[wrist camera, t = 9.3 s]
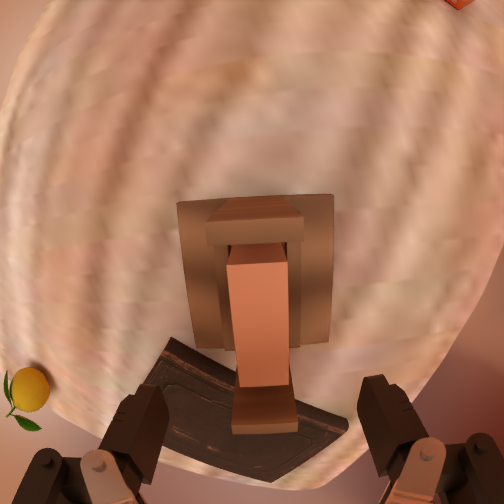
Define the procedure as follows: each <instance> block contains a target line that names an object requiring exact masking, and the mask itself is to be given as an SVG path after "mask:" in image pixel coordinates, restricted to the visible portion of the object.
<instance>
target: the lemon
mask: <svg viewBox="0 0 504 504" xmlns="http://www.w3.org/2000/svg"><path fill="white" fill-rule="evenodd" d="M4 392H5V395H6V397H7V399H8V401H9V402H10V404H11V400H12V402H13V405H14V408H13V409H12V410H11V412H10V413H9V414H8V415H7V416H6V417H8V416H9V415H12V414H11V413H12V412H13V411H14V409H15V408H17V409H20V410H22V411H24V412H34V411H37V410H39V409H40V408H42V407H43V406H44V404H45V403H46V401H47V400H48V398H49V393H50V391H49V385H48V383H47V380H46V379H45V375H44V373H43V372H39V371H38V370H36V369H34V368H31V367H26V368H23V369H21V370H19V371H18V372H17V373H16V374H15V375H14V377H13V379H12V381H11V384H10V390H8V374H7V371H6V374H5V379H4ZM9 393H10V395H9ZM10 398H11V399H10ZM11 407H12V404H11ZM12 416H14V417H15V418H16V420H17V422H18V423H19V425H20V426H21V427H22V428H24V429H25V430H28V431H38V430H40V429H42V428H40V427H39V426H38V425H37V424H36V423H34V422H33V421H31V420H29V419H27V418H25V417H23V416H20V415H12Z"/></svg>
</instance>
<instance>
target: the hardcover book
mask: <svg viewBox="0 0 504 504" xmlns="http://www.w3.org/2000/svg"><path fill="white" fill-rule="evenodd" d="M235 378H236V372H235V371H233V370H231V369H229V368H227V367H225V366H223V365H221V364H219V363H217V362H215V361H213V360H212V359H210V358H208V357H206V356H204V355H202V354H200V353H199V352H197V351H195V350H193V349H191V348H190V347H188V346H186V345H184V344H183V343H181V342H179V341H177V340H176V339H174V338H172V337H170V339H169V342H168V344H167V345H166V347H165V349H164V350H163V352H162V354H161V355H160V357H159V359H158V360H157V362H156V363H155V365H154V367H153V368H152V370H151V372H150V373H149V375H148V376H147V378H146V380H145V381H144V383H143V384H150V385H159V386H160V387H161V390H162V393H163V396H164V399H165V401H166V404H167V407H168V410H169V424H168V427H167V431H166V434H165V437H164V441H163V444H162V446H165V447H167V448H169V449H171V450H174V451H176V452H178V453H181V454H183V455H185V456H188V457H190V458H193V459H195V460H198V461H201V462H203V463H206V464H209V465H212V466H214V467H217V468H220V469H223V470H226V471H229V472H233V473H236V474H239V475H243V476H246V477H250V478H253V479H257V480H261V481H265V482H269V483H272V482H273V481H275V480H277V479H279V478H280V477H282V476H284V475H285V474H287V473H289V472H290V471H292V470H293V469H295V468H297V467H298V466H300V465H301V464H303V463H304V462H306V461H307V460H309V459H310V458H312V457H313V456H315V455H316V454H317V453H319V452H320V451H322V450H323V449H324V448H326V447H327V446H329V445H330V444H331V443H333V442H334V441H335V440H337V439H338V438H339V437H340V436H342V435H343V434H344V433H345V432H347V430H348V428H349V424H348V421H347V419H346V418H343V417H340V416H337V415H335V414H332V413H329V412H326V411H324V410H321V409H318V408H316V407H313V406H311V405H308V404H306V403H303V402H301V401H298V400H296V399H295V404H296V411H297V418H298V430H297V432H286V433H270V434H233V433H232V427H231V421H232V410H233V399H234V389H235Z"/></svg>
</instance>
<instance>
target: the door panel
mask: <svg viewBox="0 0 504 504" xmlns="http://www.w3.org/2000/svg"><path fill="white" fill-rule="evenodd" d="M226 267H227V277H228V287H229V297H230V306H231V315H232V325H233V333H234V342H235V351H236V359H237V367H238V375H239V383H240V387H259V386H277V385H289V311H288V264H287V259H286V256H285V253H284V250H283V247H282V244H281V242H279V243H258V244H239V245H232V249H231V252H230V255H229V258H228V262H227V265H226Z"/></svg>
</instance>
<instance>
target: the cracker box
mask: <svg viewBox="0 0 504 504" xmlns="http://www.w3.org/2000/svg"><path fill="white" fill-rule="evenodd" d="M446 1H447V2H449V3H450V4H451V5H453V6H454V7H455V8H456V9H458V10H459V9H461V8H462V7H464V6H466V5H467V4H469V3H471V2H473V1H475V0H446Z"/></svg>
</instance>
